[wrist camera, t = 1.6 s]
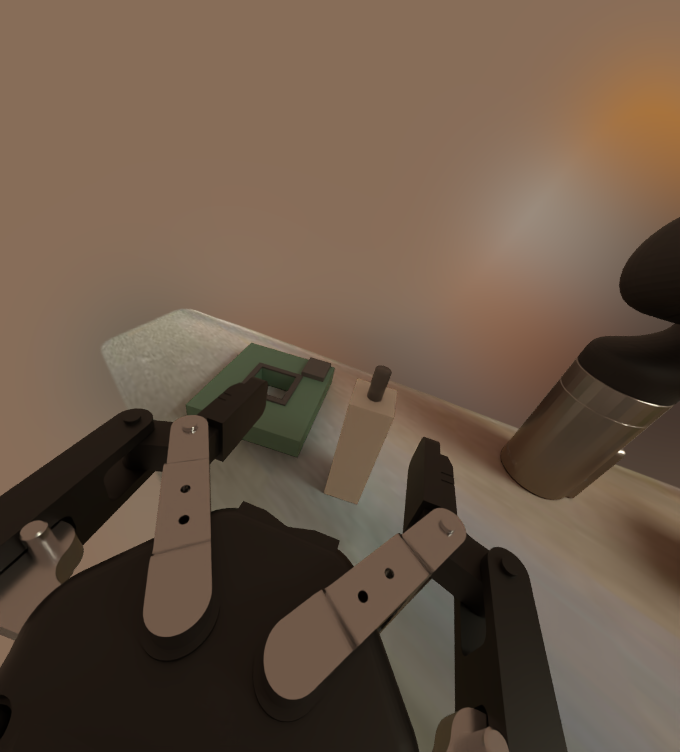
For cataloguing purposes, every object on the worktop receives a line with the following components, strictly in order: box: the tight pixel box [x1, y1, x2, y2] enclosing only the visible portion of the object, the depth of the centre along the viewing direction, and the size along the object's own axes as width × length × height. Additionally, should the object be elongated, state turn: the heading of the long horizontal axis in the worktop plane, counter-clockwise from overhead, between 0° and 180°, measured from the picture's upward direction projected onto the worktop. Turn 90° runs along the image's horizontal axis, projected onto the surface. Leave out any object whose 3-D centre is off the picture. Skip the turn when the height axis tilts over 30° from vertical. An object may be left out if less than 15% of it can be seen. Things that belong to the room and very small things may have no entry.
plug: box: [324, 366, 397, 504], centre depth 29 cm, size 4×4×17 cm
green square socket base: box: [186, 343, 335, 457], centre depth 42 cm, size 15×17×4 cm
